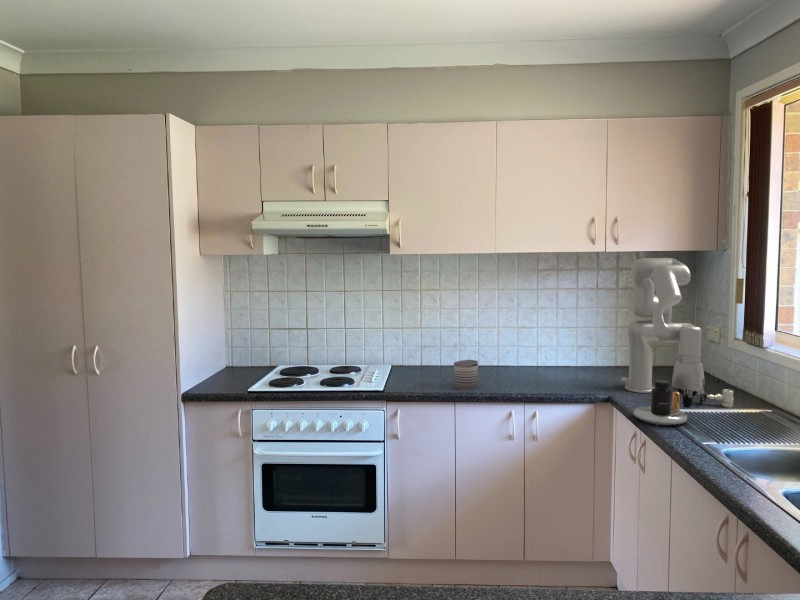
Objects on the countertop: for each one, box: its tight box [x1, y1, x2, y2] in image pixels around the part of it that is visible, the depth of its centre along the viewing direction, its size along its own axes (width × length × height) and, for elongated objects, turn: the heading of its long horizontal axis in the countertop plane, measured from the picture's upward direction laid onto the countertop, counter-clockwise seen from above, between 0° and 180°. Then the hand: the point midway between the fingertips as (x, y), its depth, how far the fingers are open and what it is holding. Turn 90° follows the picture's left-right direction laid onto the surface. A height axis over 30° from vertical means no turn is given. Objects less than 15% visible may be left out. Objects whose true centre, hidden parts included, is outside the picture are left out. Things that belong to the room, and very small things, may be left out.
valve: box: [698, 388, 735, 408], centre depth 227 cm, size 7×7×12 cm
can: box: [453, 359, 479, 391], centre depth 261 cm, size 11×11×12 cm
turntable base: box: [639, 419, 674, 427], centre depth 209 cm, size 14×14×1 cm
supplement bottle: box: [650, 379, 673, 415], centre depth 208 cm, size 7×7×12 cm
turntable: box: [633, 391, 688, 425], centre depth 210 cm, size 22×18×7 cm
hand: (687, 406), depth 211 cm, fingers closed
